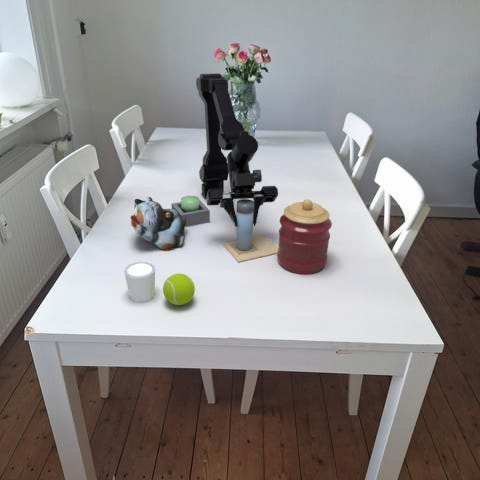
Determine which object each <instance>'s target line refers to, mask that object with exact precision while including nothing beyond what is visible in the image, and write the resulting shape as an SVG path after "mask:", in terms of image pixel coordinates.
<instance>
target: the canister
mask: <svg viewBox="0 0 480 480" xmlns="http://www.w3.org/2000/svg"><path fill="white" fill-rule="evenodd" d="M279 223H280V225H281V226H280V228H279V230H278V235H279V236H278V246H277V247H278V251H277V254H276V255H277V262H278V264H279V265H280V267H282V268H283V269H285V270H286V271H289V272H291V273H296V274H304V275H306V274H307V275H310V274H314V273H318V272H320V271H322V270H323V269H324V268H325V266H326V264H327V261H328V252H329V250H328V249H329V243H330V239H331V233H330V229H331V228H332V224H333V223H332V220H331V219H330V212H329V211H328V210H327V209H326V208H324V207H323V206H322V205H320V204H319V203H316V202H313V201H312V200H311V199H308V198H307V199H304V200H303V201H299V202H293V203H292V204H290V205H288V206H286V207H284V209H283V214H282V215H280V218H279Z"/></svg>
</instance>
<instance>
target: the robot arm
mask: <svg viewBox="0 0 480 480" xmlns="http://www.w3.org/2000/svg"><path fill="white" fill-rule="evenodd" d="M195 81H196V82H195V83H196V84H195V85H196V90H197V91H198V96H199V97H200V99H201V101H202V102H203V104H204V117H205V118H204V119H205V137H206V138H205V139H206V152H205V154H204V155H203V157H202V164H201V166H200V168H199V171H198V175H199V179H200V181H201V182H202V183H201V195H202V196H203V198H205V200H206V205H207V206H209V207H210V206H219V208H220V209H224V210H225V212H226V213H227V215H229V218H230V219H231V221H232V224H234V225H233V226H235V228H236V227H237V212H236V209H235V208H236V207H235V205H234V203H235V202H234V201H235V200H241V199H249V200H250V199H253V200H252V201H253V202H254V212H253V227H255V226H256V225H257V219H258V216H259V210H260V207H261V206H263V205H264V203H274V202H275V201H276V199H277V197H278V196H279V191H278V190H279V189H278V187H277V186H276V185H262V187H261V189H260V190H254V189H255V186H256V183H261V182H262V181H263V178H262V169H254V170H252V172H251V170H250V162H251V161H252V159H253V157H254V156H255V155H256V153H257V151H258V149H259V141H258V140H257V139H256V138H255V137H254V136H252V135H250V134H249V132H248V130H245V128H244V125H243V123H241V122H240V121H239V120H238V119H237V117H236V114H235V110H234V106H233V103H232V99H231V95H230V92H229V80H228V78H227V77H224V76H222V74H221V73H218V72H217V73H200V75H199V77H197V78H196V80H195ZM223 150H224V151H227V152H228V151H229V153H227V156H225V154H224V153H223ZM228 179H229V187H230V191H226V192H224V189H225V187H224V186H225V183H224V182H225V181H228Z"/></svg>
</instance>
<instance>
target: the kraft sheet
mask: <svg viewBox="0 0 480 480" xmlns="http://www.w3.org/2000/svg"><path fill="white" fill-rule="evenodd" d="M222 246H223V247H224V248H225V249H226V251H228V253H229V254H230V256H232V257H233V258H234V259H235V261H236V262H237V263H239V264H240V263H242V262H247V261H251V260H252V261H253V260H256V259H261V258H265V257H269V256H273V255H274V256H275V255H277V251H278V247H279V246H277V245H276V244H275V243H274V242H272V241H271V239H269V238H268V237H267V236H266V235H265V234H264V235H260V236H254V237H252V248H251V249H249V250H240V249H238V248H236V240H235V241H230V242H226V243H225V242H224V243H222Z"/></svg>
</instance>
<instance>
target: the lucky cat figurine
mask: <svg viewBox="0 0 480 480" xmlns="http://www.w3.org/2000/svg"><path fill="white" fill-rule="evenodd" d="M133 201H134V208H133V211H132V213H131V215H130V217H129V218H130V225H131V227H132V228H133V230H134V232H135V234H136V235H138V236H139V237H140V238H142V239H143V240H144V241H147V242H150V243H151V244H153V245H155V246H156V247H158V248H159V249H161V250H162V251H163V250H164V251H169V250H173V249H177V248H178V247H180V246H181V245H183V242H184V240H185V235H184V231H185V228H186V227H185V225H186V218H184V217H182V216H181V215H180V213H179V212H178V211H176V210H174V209H172V208H163V206H162V205H161V203H159V202H157V201H154V200H153V198H152V197H151V196H146V197H145V199H144V200H142V199H139V198H135V199H134V200H133Z"/></svg>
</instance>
